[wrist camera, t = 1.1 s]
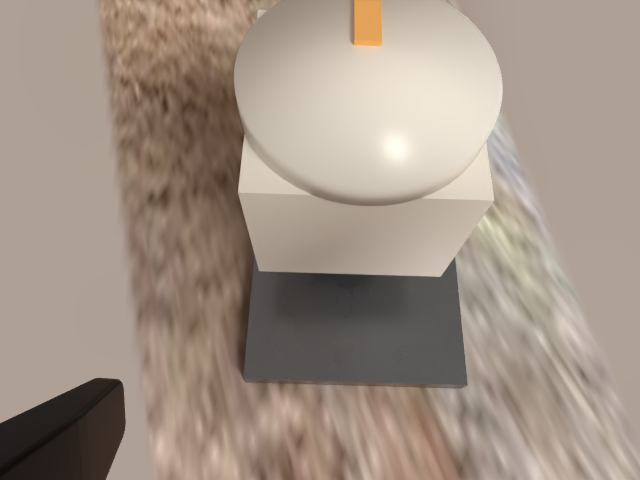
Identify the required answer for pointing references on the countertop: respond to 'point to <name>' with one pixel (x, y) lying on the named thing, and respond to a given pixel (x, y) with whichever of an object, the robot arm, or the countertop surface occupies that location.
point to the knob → (364, 135)
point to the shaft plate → (355, 330)
